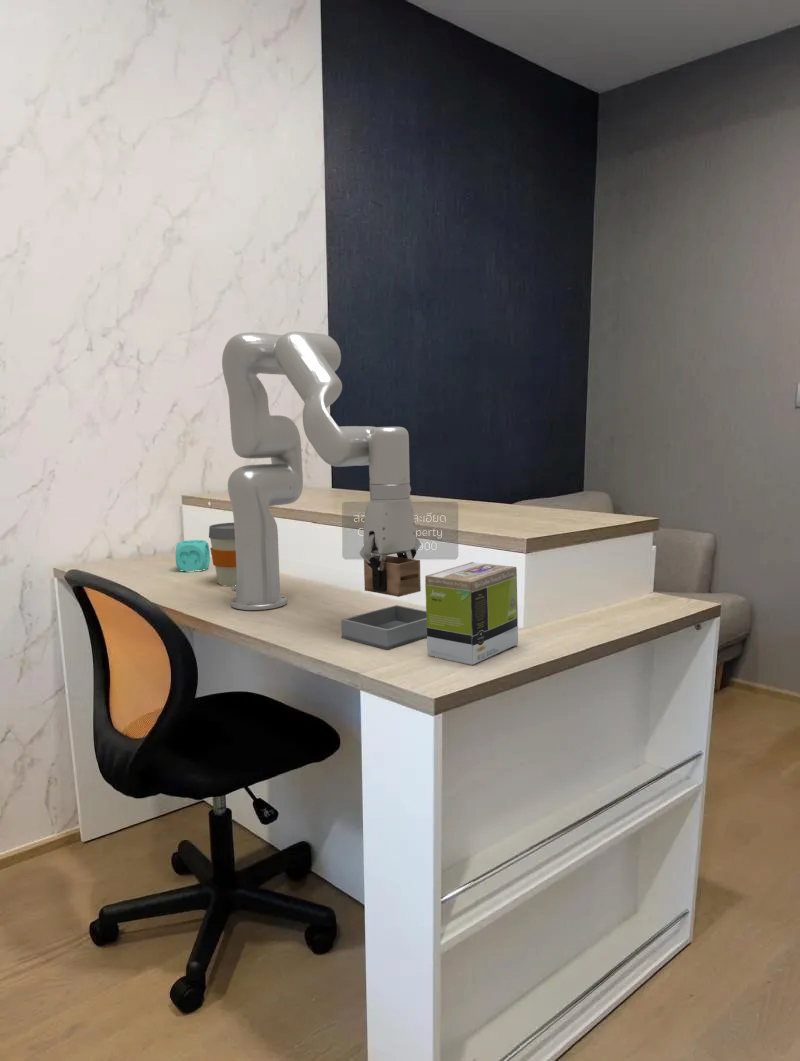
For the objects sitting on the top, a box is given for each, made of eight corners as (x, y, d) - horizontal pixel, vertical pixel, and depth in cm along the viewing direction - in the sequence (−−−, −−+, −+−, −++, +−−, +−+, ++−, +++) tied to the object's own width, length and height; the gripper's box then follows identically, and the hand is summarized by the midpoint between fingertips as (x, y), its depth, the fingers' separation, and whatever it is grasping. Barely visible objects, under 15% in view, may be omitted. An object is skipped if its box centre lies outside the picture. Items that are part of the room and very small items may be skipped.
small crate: (364, 590, 147) (363, 559, 146) (386, 585, 152) (385, 555, 151) (398, 596, 141) (398, 564, 140) (420, 591, 145) (420, 560, 145)
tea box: (473, 637, 146) (473, 560, 144) (519, 646, 139) (519, 565, 137) (425, 656, 134) (423, 573, 132) (472, 667, 128) (472, 579, 126)
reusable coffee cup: (266, 577, 205) (263, 522, 203) (252, 587, 193) (249, 528, 191) (220, 577, 207) (217, 522, 205) (204, 587, 194) (200, 528, 192)
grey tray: (341, 637, 146) (341, 619, 146) (396, 622, 157) (396, 605, 157) (387, 650, 138) (387, 630, 138) (442, 632, 149) (442, 614, 148)
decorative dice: (182, 567, 223) (181, 540, 222) (210, 566, 223) (209, 539, 222) (176, 572, 215) (174, 544, 214) (205, 572, 215) (203, 543, 214)
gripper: (406, 489, 153) (408, 578, 155) (342, 496, 140) (345, 592, 143) (435, 490, 147) (436, 582, 150) (371, 497, 135) (373, 598, 137)
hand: (392, 586), depth 146 cm, fingers closed on small crate, 6 cm apart
